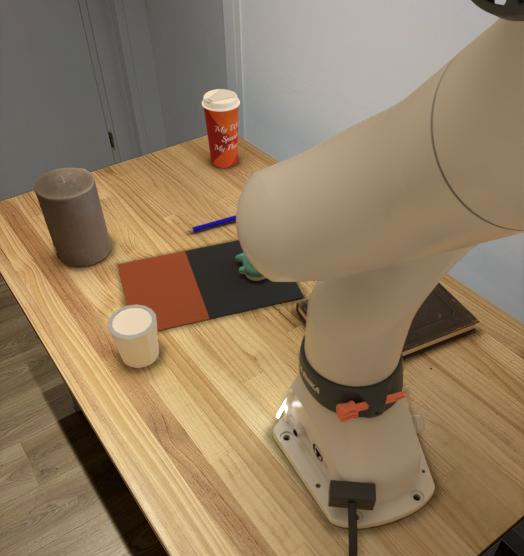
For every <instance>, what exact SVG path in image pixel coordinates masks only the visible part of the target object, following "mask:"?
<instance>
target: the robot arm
mask: <svg viewBox="0 0 524 556" xmlns="http://www.w3.org/2000/svg"><path fill="white" fill-rule="evenodd" d="M470 1H471V3H473V5H475V6H476V7H478V8H479V9H480V10H482V11H484V12H486V13H488V14H490V15H493V16H495V17H497V19H496V20H495V22H493V23H491V25H490V26H489V27H488V28H487V29H485V30H484V31H483V32H481V34H479V35H478V36H477V37H475V38H474V39H473V40H472V41H470V43H468V44H467V45H465V47H463V48H462V49H461V50H460V51H458V53H457V54H456V55H454V56H453V57H452V58H451V59H449V61H448V62H446V63H445V64H444V65H443V66H441V68H439V69H438V70H437V71H436V72H434V73H433V74H432V75H431V76H430V77H428V78H427V79H426V80H425V81H424V82H423V83H422V84H421V85H419V86H418V87H417V88H415V89H414V90H413V91H412V92H410V94H408V95H407V96H406V97H404V98H403V99H402V100H400V101H399V102H397V103H395V104H394V105H392V106H390V107H388V108H386V109H384V110H382V111H380V112H378V113H376V114H374V115H372V116H369V117H367V118H365V119H363V120H361V121H359V122H357V123H355V124H353V125H351V126H349V127H348V128H345V129H343V130H342V131H340V132H338V133H336V134H334V135H332V136H330V137H328V138H327V139H325V140H323V141H322V142H320V143H318V144H316V145H314V146H312V147H309V148H308V149H306V150H304V151H302V152H300V153H298V154H295V155H293V156H291V157H288V158H286V159H284V160H281V161H278V162H277V163H274V164H271V165H269V166H267V167H266V166H265V167H264V168H261V169H259V170H257V171H255V172H253V173H251V174H250V176H249V178H248V179H247V180H246V182H245V184H244V186H243V188H242V190H241V192H240V195H239V197H238V202H237V205H236V213H235V215H236V221H235V227H236V228H235V229H236V235H237V238H238V239H237V240H239V242H240V245H241V247H242V250H243V252H244V254H245V255H246V257H247V259H248V260H249V262H250V263H251V264H252V265H253V267H254V268H255V269H256V270H257V271H258V272H259V273H261V274H262V275H263V276H264V277H266V278H267V279H269V280H270V281H272V282H296V283H306V282H309V283H310V282H315V284H314V286H313V287H312V288H311V292H310V294H309V297H308V299H309V300H308V299H307V300H308V307H307V319H306V324H305V331H304V332H305V333H304V335H303V337H302V340H301V343H300V347H299V351H298V372H297V374H296V376H295V377H294V379H293V381H292V383H291V385H290V386H289V387H288V390H287V392H286V398H285V399H284V401H283V402H282V404H281V406H280V408H279V410H278V411H277V413H276V416H275V418H277V419H279V420H278V421H277V423H276V424H275V425H274V427H273V431H272V437H273V440H274V441H275V442H276V444H277V446H278V447H279V449H280V450H281V452H282V453H283V454H284V456H285V457H286V459H287V460H288V462H289V464H290V465H291V466H292V468H293V470H294V471H295V473H296V474H297V476H299V479H300V480H301V481H302V483H303V485H304V486H305V488H306V489H307V490H308V492H309V494H310V495H311V496H312V499H314V501H315V503H316V504H317V505H318V507H319V508H320V510H321V512H322V513H323V514H324V516H325V517H326V519H327V520H328V522H329V523H330V524H332V525H334V526H336V527H340V528H344V529H347V530H348V556H358V553H359V552H358V551H359V550H358V549H359V547H358V542H359V541H358V529H369V528H374V527H379V526H380V527H381V526H383V525H387V524H391V523H393V522H396V521H399V520H402V519H404V518H406V517H409V516H411V515H412V514H414V513H415V512H417V511H419V510H420V509H422V508H423V507H424V506H425V505H426V504H427V503H428V502H429V501H430V500H431V499H432V497H433V495H434V493H435V491H436V486H435V482H434V479H433V475H432V474H431V471H430V468H429V465H428V462H427V459H426V456H425V454H424V451H423V448H422V446H421V442H420V440H419V436H418V435H417V434H421V433H423V432H424V431H425V429H426V427H425V425H426V423H425V420H424V417H423V415H421V414H420V413H416V414H412V412H411V409H410V406H409V402H408V398H407V397H409V396H410V394H411V391H410V390H411V389H410V387H409V385H407V384H406V385H404V371H405V363H404V360H403V354H402V349H403V346H404V343H405V340H406V337H407V334H408V331H409V328H410V325H411V323H412V320H413V318H414V316H415V314H416V312H417V311H418V309H419V308H420V306H421V305H422V303H423V302H424V301H425V299H426V298H427V297H428V295H429V294H430V293H431V292H432V290H433V289H434V288H435V287H436V285H437V284H438V283H440V282H441V281H442V280H443V278H444V277H445V276H446V275H447V274H448V273H449V272H450V271H451V270H452V269H453V268H454V266H455V265H456V264H458V263H459V261H461V260H462V258H464V257H465V256H466V255H467V254H468V253H470V251H472V250H473V249H475V248H476V247H477V246H478V245H480V244H484V243H488V242H492V241H496V240H500V239H503V238H508V237H512V236H516V235H519V234H523V233H524V0H505V3H504V4H499V3H496V0H470ZM282 413H283V415H282ZM281 416H282V417H281ZM280 417H281V418H280ZM285 439H288V440H285ZM414 498H417V499H418V500H416V499H414Z"/></svg>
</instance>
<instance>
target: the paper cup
mask: <svg viewBox="0 0 524 556" xmlns="http://www.w3.org/2000/svg"><path fill="white" fill-rule="evenodd" d="M240 105H241V100H240V98H239V97H238V94H237V93H236V92H235V91H233V90H230V89H226V88H225V89H224V88H216V89H211V90H209V91H207V92H205V93H204V94H203V96H202V101H201V106H202V108H203V112H204V119H205V120H204V121H205V127H206V134H207V141H208V148H209V153H210V154H209V155H210V161H211V164H212V165H213V166H214V167H216V168H220V169H228V168H231V167H234V166H235V165H236V164H237V163H238V155H239V154H238V149H239V107H240Z"/></svg>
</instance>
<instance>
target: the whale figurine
mask: <svg viewBox="0 0 524 556" xmlns="http://www.w3.org/2000/svg"><path fill="white" fill-rule="evenodd" d="M235 259H236V260H237V261H240V262H242V264H243V267H240V268H239V272H240V273H242V274H245V275H246V277H247V278H248V279H250V280H253V281H261V280H264V279H266V277H264V276H263V275H262V274H261V273H259V272H258V271H257V270H256V269H255V268H254V267H253V265H252V264H251V263H250V262H249V260H248V259H247V257H246V255H245V254H244V253H241V254H239V255H236V257H235Z"/></svg>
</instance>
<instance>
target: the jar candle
mask: <svg viewBox="0 0 524 556" xmlns="http://www.w3.org/2000/svg"><path fill="white" fill-rule="evenodd" d="M107 330H108V332H109V335H110V336H111V338H112V340H113V343H114V345H115V347H116V349H117V352H118V353H119V356H120V358H121V360H122V361H123V363H124V364H125V365H126V366H128V367H130V368H135V369H140V368H146V367H148V366H151V365H153V363H155V362H156V361H157V360H158V358H159V355H160V345H159V333H158V332H159V331H157V320H156V314H155V313H154V312H153V310H152V309H150V308H148V307H146V306H143V305H129V306H127V305H125V306H122V307H120V308H118V309H116V310H115V311H114V312H113V313H111V315H110V316H109V319H108V320H107Z"/></svg>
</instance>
